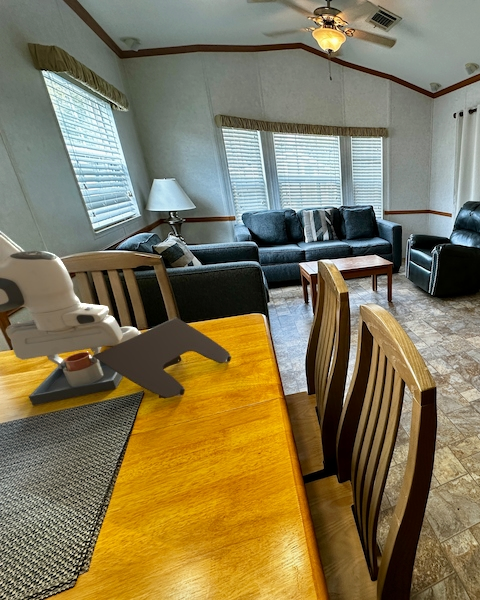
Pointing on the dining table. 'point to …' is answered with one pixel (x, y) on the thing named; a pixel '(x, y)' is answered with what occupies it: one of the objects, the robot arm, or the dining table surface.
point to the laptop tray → (160, 356)
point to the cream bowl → (84, 375)
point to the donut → (127, 333)
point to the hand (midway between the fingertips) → (81, 364)
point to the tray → (60, 389)
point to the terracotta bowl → (78, 361)
